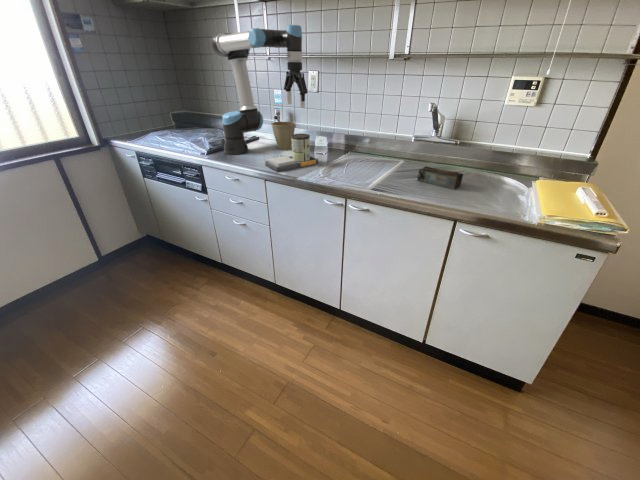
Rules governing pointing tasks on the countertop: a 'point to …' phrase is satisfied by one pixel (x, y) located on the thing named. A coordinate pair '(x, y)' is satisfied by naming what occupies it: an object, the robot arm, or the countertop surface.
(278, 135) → the plant pot
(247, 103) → the robot arm
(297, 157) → the coffee can
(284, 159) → the grey compartment tray
